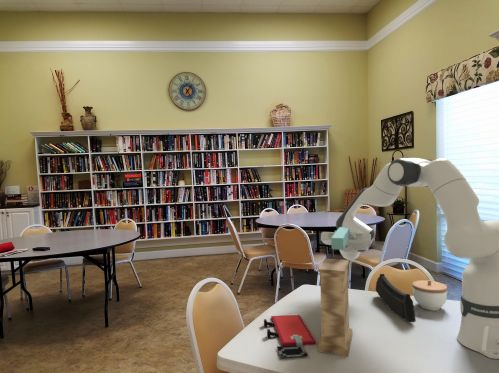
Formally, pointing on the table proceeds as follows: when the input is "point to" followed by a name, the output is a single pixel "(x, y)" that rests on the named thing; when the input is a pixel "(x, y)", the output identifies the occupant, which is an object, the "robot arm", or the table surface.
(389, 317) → the table surface
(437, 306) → the lidded bowl
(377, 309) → the table surface
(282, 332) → the red board with handle
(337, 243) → the rod
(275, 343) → the table surface
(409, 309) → the magazine
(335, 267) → the pedestal
